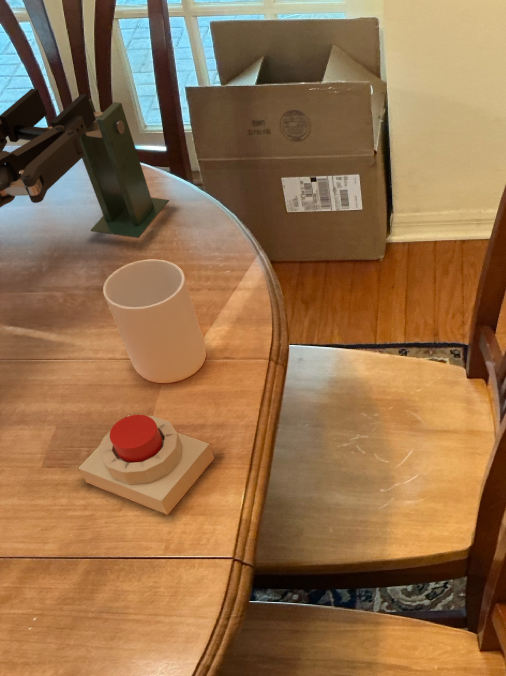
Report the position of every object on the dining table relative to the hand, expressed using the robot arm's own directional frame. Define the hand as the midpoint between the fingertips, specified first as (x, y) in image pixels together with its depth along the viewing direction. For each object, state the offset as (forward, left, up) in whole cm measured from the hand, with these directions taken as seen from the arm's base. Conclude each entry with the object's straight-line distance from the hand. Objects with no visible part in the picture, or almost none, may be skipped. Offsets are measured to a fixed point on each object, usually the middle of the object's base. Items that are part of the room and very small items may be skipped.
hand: (63, 104), depth 86 cm
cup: (+19, -14, -18) cm, 30 cm away
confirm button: (+28, -30, -14) cm, 44 cm away
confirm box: (+28, -30, -18) cm, 45 cm away
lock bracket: (-1, +5, -18) cm, 18 cm away
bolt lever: (0, 0, -4) cm, 4 cm away
